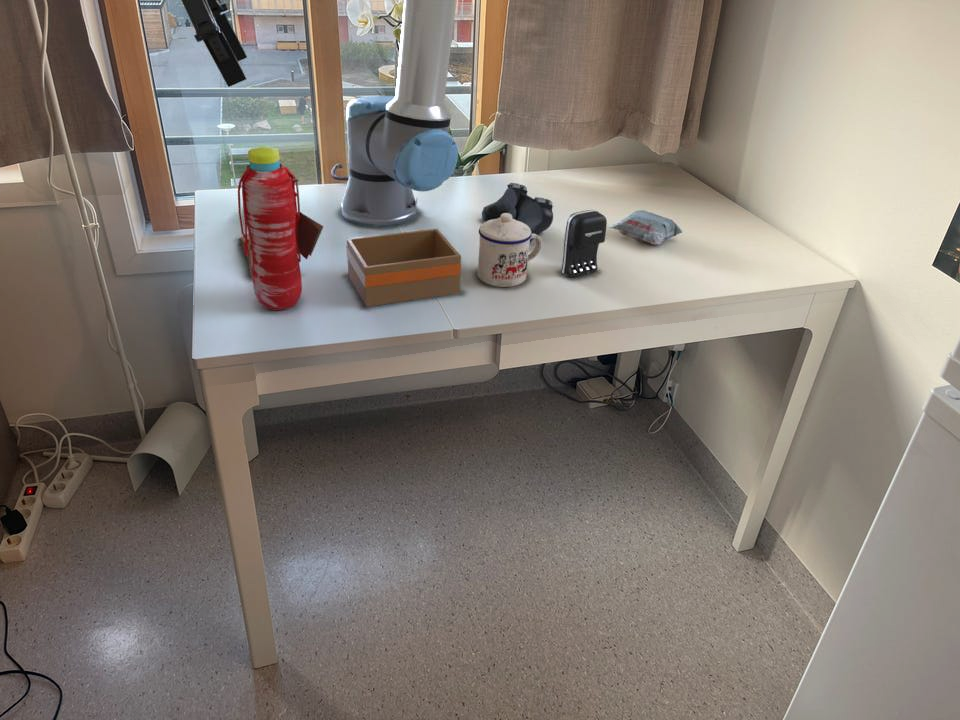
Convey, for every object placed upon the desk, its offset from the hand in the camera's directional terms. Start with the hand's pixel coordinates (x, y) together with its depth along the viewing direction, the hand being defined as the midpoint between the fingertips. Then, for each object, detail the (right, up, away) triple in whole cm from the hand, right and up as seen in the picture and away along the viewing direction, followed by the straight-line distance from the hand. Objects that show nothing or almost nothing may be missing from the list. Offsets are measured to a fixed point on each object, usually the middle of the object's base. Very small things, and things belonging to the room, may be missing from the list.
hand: (238, 71), depth 109 cm
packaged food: (+68, -18, +42) cm, 82 cm away
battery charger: (+53, -26, +27) cm, 65 cm away
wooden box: (+22, -29, +20) cm, 41 cm away
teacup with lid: (+40, -27, +25) cm, 54 cm away
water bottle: (+4, -32, +13) cm, 35 cm away
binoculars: (+43, -16, +42) cm, 62 cm away
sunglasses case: (-3, -23, +26) cm, 35 cm away
